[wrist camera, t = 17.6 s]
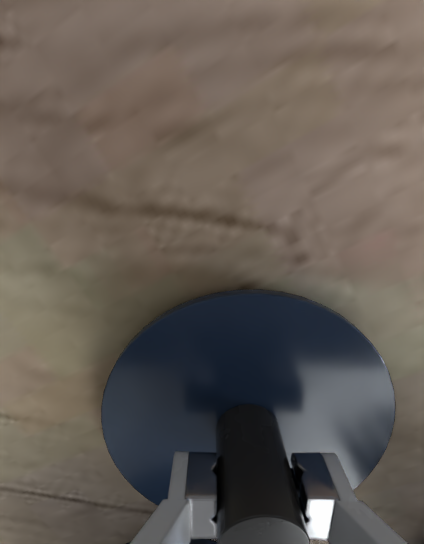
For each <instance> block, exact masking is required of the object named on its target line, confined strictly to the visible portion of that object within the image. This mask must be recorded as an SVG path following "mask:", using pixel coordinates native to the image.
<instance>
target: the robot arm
mask: <svg viewBox="0 0 424 544" xmlns="http://www.w3.org/2000/svg"><path fill="white" fill-rule="evenodd" d="M291 464H292V468H291V472H292V476H293V480H294V483H295V487H296V491H297V494H298V498H299V502H300V506H301V509H302V513H303V517H304V521H305V524H306V528H307V532H308V535H309V539H310V540H327V541H329V544H408V543H407V542H406V541H405V540H404V539H403V538H402V537H400V536H399V535H398V534H397V533H396V532H395V531H394V530H393V529H392V528H391V527H390V526H389V525H388V524H387V523H385V522H384V521H383V520H382V519H381V518H380V517H379V516H378V515H377V514H376V513H375V512H374V511H373V510H371V509H370V508H369V507H368V506H367V505H366V504H365V503H364V502H363V501H358V500H357V498H356V496H355V494H354V491H353V489H352V487H351V485H350V483H349V481H348V478H347V476H346V474H345V472H344V470H343V467H342V465H341V463H340V461H339V459H338V456H337V455H336V454H335V453H319V452H307V453H292V455H291ZM216 514H217V458H216V453H214V452H184V451H175V454H174V458H173V465H172V472H171V479H170V486H169V492H168V499H163V500H162V501H161V503H160V504H159V505H158V507H157V508H156V509H155V511H154V512H153V513H152V515H151V516H150V517H149V519H148V520H147V521H146V523H145V524H144V525H143V527H142V528H141V529H140V531H139V532H138V533H137V535H136V536H135V537H134V539H133V540H132V541H131V543H130V544H189V543H190V539H216V530H217V518H216Z"/></svg>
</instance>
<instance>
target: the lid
mask: <svg viewBox="0 0 424 544" xmlns="http://www.w3.org/2000/svg"><path fill="white" fill-rule="evenodd" d="M394 421H395V396H394V388H393V385H392V381H391V378H390V374H389V371H388V369H387V367H386V365H385V363H384V361H383V359H382V357H381V356H380V354H379V353H378V352H377V350H376V349H375V347H374V346H373V345H372V343H371V342H370V341H369V340H368V339H367V338H366V337H365V336H364V335H363V334H362V333H361V332H360V331H359V330H358V329H357V328H356V327H355V326H354V325H353V324H352V323H351V322H349V321H348V320H347V319H345V318H344V317H343V316H341V315H340V314H339V313H337V312H335V311H333V310H331V309H329V308H328V307H326V306H324V305H322V304H320V303H317V302H315V301H312V300H309V299H307V298H304V297H301V296H297V295H293V294H289V293H285V292H279V291H270V290H261V289H253V290H233V291H225V292H218V293H214V294H210V295H206V296H202V297H199V298H195V299H193V300H190V301H188V302H185V303H183V304H180V305H178V306H176V307H174V308H172V309H171V310H169V311H167V312H165V313H163V314H162V315H160V316H158V317H157V318H156V319H154V320H153V321H152V322H150V323H149V324H148V325H146V326H145V327H144V328H143V329H142V330H141V331H140V332H139V333H138V334H137V335H136V336H135V337H134V338H133V339H132V340H131V341H130V342H129V344H128V345H127V346H126V348H125V349H124V350H123V352H122V353H121V354H120V356H119V358H118V360H117V362H116V364H115V366H114V367H113V369H112V371H111V373H110V375H109V378H108V381H107V384H106V387H105V390H104V394H103V400H102V406H101V423H102V429H103V435H104V439H105V442H106V445H107V448H108V451H109V453H110V455H111V457H112V459H113V461H114V463H115V465H116V466H117V468H118V469H119V471H120V472H121V473H122V475H123V476H124V478H125V479H126V480H127V481H128V482H129V483H130V484H131V485H132V486H133V487H134V488H135V489H136V490H137V491H138V492H140V493H141V494H142V495H143V496H144V497H146V498H147V499H148V500H150V501H151V502H153V503H155V504H156V505H159V504H160V503H161V501H162V500H163V499H168V492H169V486H170V479H171V472H172V465H173V458H174V454H175V451H184V452H214V453H216V458H217V514H216V518H217V544H310V539H309V535H308V532H307V528H306V524H305V521H304V517H303V513H302V509H301V506H300V502H299V498H298V494H297V491H296V487H295V483H294V480H293V476H292V472H291V468H292V464H291V455H292V453H307V452H319V453H335V454H336V455H337V456H338V459H339V461H340V463H341V465H342V467H343V470H344V472H345V474H346V476H347V478H348V481H349V483H350V485H351V487H352V489H353V490H354V489H355V488H356V487H358V486H359V485H360V484H361V483H362V482H363V481H364V480H365V479H366V478H367V476H368V475H369V474H370V473H371V472H372V470H373V469H374V468H375V466H376V465H377V464H378V462H379V460H380V459H381V457H382V455H383V453H384V452H385V450H386V447H387V445H388V442H389V440H390V437H391V434H392V430H393V425H394Z"/></svg>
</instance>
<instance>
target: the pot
mask: <svg viewBox="0 0 424 544" xmlns="http://www.w3.org/2000/svg"><path fill="white" fill-rule="evenodd" d="M130 543H131V542H130ZM130 543H127V544H130ZM189 544H217V542H215V541H211V540H207V539H190V543H189Z"/></svg>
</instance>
